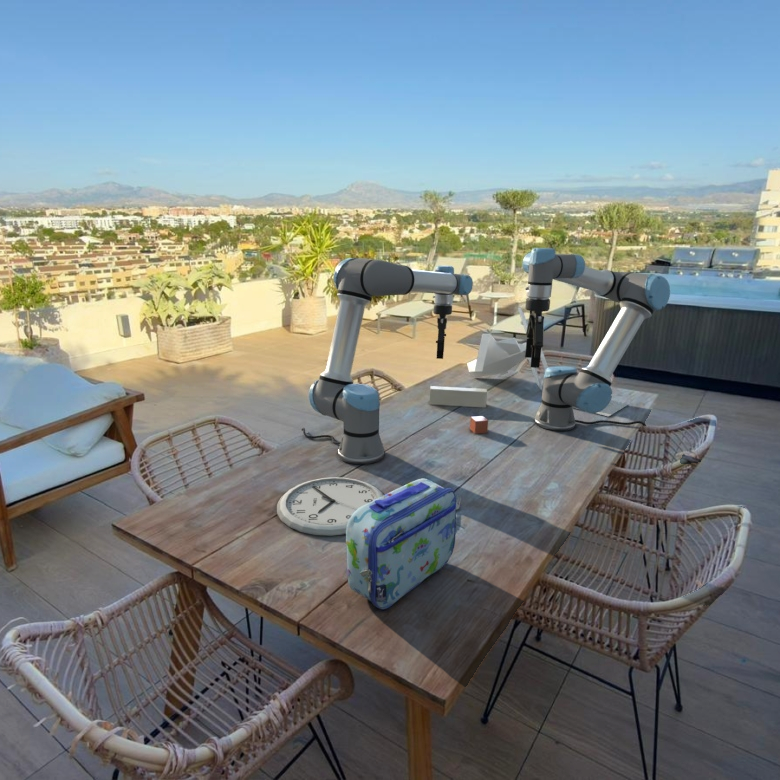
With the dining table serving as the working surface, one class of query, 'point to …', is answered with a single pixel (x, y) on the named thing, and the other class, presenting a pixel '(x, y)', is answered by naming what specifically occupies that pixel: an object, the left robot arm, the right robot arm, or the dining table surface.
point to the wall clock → (324, 504)
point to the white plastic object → (501, 356)
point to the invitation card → (611, 408)
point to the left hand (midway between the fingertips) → (440, 354)
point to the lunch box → (400, 540)
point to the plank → (458, 396)
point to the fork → (458, 504)
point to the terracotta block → (478, 424)
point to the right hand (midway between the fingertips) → (531, 362)
